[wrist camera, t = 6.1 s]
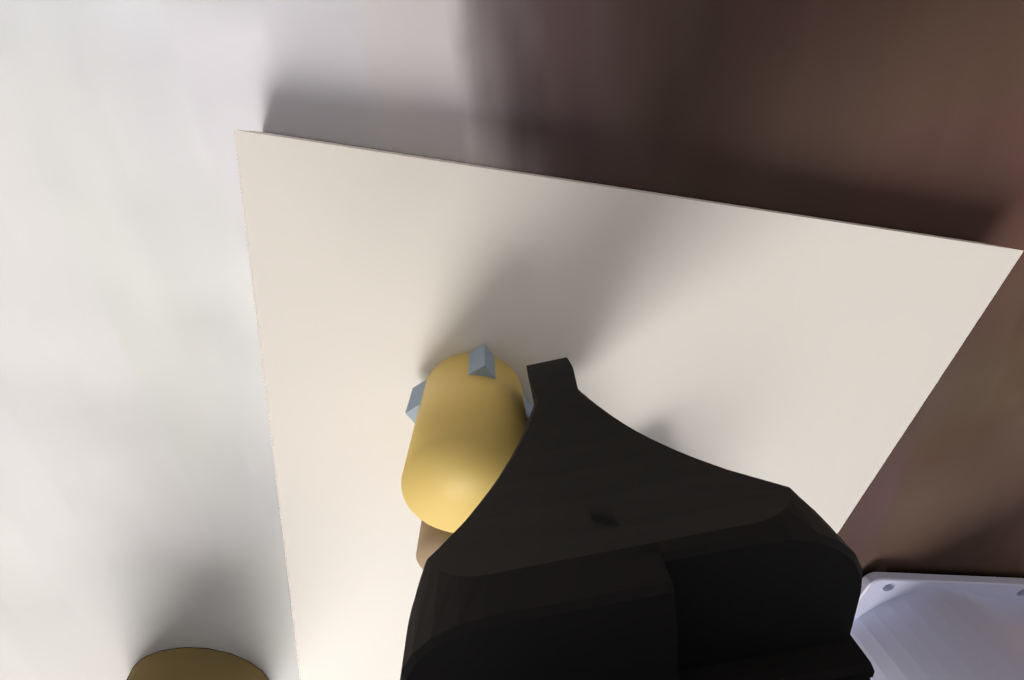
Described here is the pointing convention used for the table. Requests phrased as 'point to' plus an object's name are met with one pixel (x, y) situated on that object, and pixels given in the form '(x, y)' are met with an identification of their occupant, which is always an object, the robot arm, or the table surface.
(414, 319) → the base plate
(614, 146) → the table surface
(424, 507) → the square ring with handle
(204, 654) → the cork
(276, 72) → the table surface
